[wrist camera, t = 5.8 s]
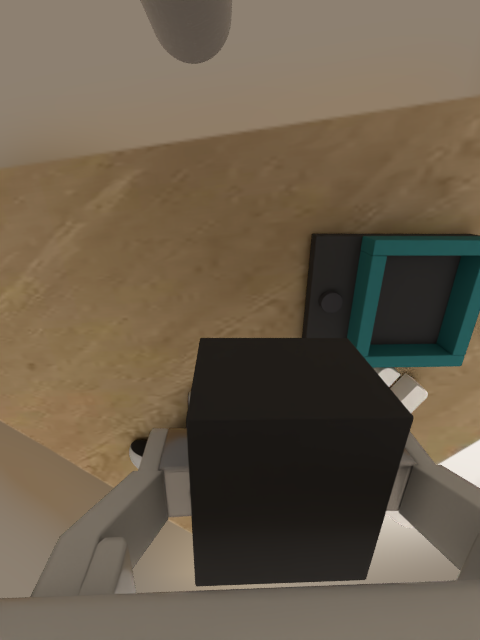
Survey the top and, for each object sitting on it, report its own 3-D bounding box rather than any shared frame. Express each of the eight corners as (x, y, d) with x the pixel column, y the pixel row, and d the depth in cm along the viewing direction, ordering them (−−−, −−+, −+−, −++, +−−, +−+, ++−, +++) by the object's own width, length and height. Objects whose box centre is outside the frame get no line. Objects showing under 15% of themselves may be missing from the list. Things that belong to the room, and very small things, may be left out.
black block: (200, 337, 10) (185, 419, 7) (348, 337, 10) (415, 417, 7) (204, 470, 12) (195, 587, 9) (325, 468, 13) (366, 580, 9)
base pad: (311, 233, 22) (325, 240, 19) (470, 234, 23) (507, 240, 20) (300, 349, 26) (310, 369, 23) (438, 347, 27) (464, 366, 24)
